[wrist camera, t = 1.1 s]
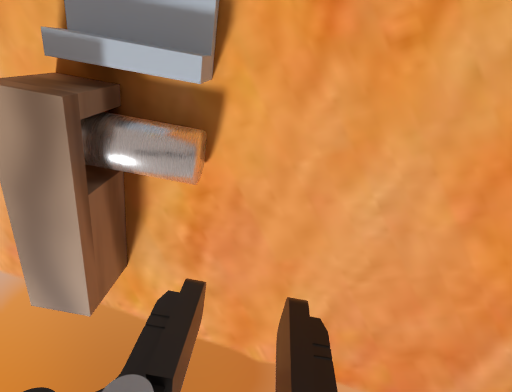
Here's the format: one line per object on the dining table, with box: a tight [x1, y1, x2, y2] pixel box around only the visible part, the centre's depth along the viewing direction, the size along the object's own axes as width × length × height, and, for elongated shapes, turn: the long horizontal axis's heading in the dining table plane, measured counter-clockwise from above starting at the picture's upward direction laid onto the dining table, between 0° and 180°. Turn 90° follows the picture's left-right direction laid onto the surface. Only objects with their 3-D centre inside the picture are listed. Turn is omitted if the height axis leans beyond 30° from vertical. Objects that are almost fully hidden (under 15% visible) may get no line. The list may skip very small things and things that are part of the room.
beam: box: [0, 73, 127, 316], centre depth 24 cm, size 5×18×7 cm, turn 171°
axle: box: [81, 112, 207, 185], centre depth 23 cm, size 12×4×4 cm, turn 81°
